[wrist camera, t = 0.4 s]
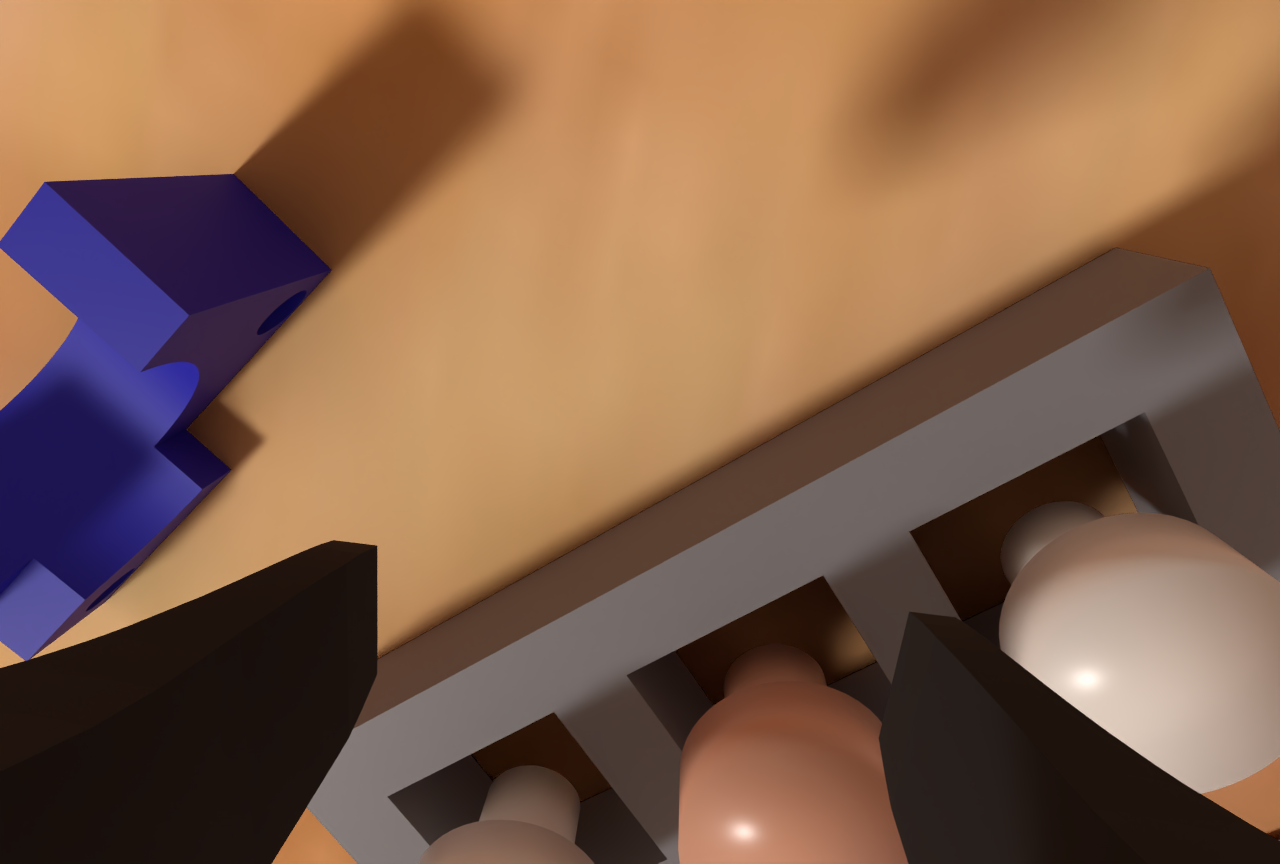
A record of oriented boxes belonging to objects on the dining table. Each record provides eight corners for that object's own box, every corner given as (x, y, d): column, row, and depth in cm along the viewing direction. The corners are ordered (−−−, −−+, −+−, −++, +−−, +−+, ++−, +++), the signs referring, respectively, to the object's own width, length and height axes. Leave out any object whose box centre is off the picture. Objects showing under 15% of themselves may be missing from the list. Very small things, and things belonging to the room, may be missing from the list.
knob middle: (902, 716, 19) (967, 889, 15) (740, 789, 20) (754, 973, 16) (812, 573, 18) (852, 713, 14) (646, 658, 19) (632, 814, 15)
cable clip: (108, 599, 23) (-82, 744, 17) (-26, 489, 22) (-272, 604, 17) (381, 314, 20) (257, 377, 14) (237, 173, 19) (44, 181, 13)
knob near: (1195, 583, 18) (1367, 730, 13) (1005, 669, 19) (1106, 834, 14) (1116, 419, 17) (1274, 518, 12) (918, 520, 18) (996, 645, 13)
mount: (1257, 558, 20) (1367, 636, 17) (514, 895, 25) (487, 1006, 22) (1115, 247, 18) (1210, 267, 15) (333, 683, 23) (274, 771, 20)
